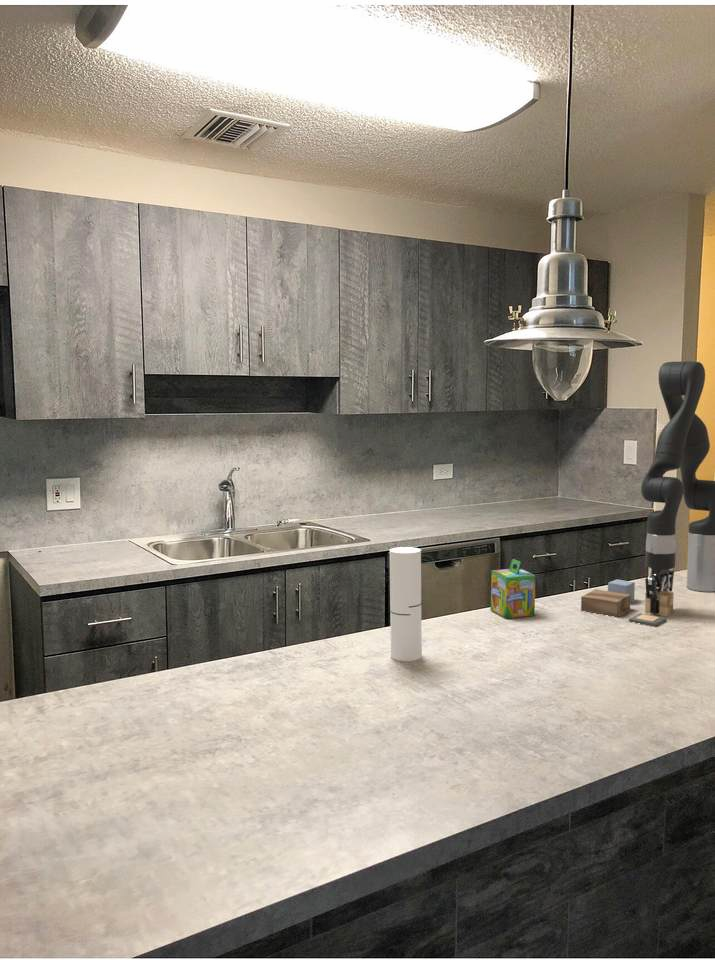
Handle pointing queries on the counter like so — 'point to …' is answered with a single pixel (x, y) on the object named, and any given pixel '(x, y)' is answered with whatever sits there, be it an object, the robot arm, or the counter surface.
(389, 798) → the counter surface
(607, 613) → the base block
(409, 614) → the cylindrical container
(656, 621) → the tile
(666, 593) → the oak block
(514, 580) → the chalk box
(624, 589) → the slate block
